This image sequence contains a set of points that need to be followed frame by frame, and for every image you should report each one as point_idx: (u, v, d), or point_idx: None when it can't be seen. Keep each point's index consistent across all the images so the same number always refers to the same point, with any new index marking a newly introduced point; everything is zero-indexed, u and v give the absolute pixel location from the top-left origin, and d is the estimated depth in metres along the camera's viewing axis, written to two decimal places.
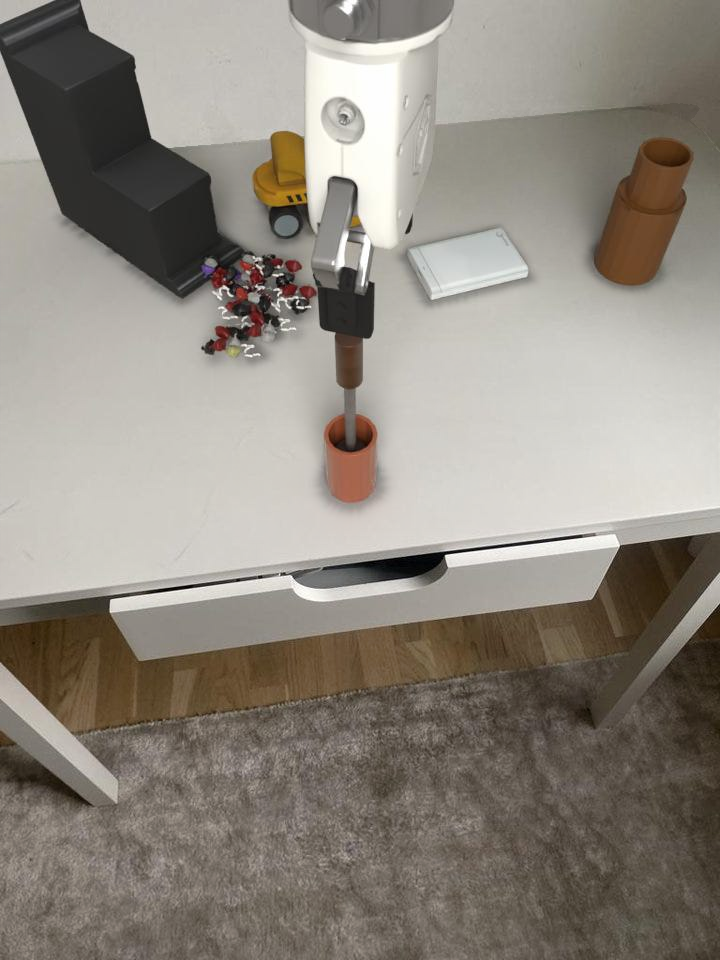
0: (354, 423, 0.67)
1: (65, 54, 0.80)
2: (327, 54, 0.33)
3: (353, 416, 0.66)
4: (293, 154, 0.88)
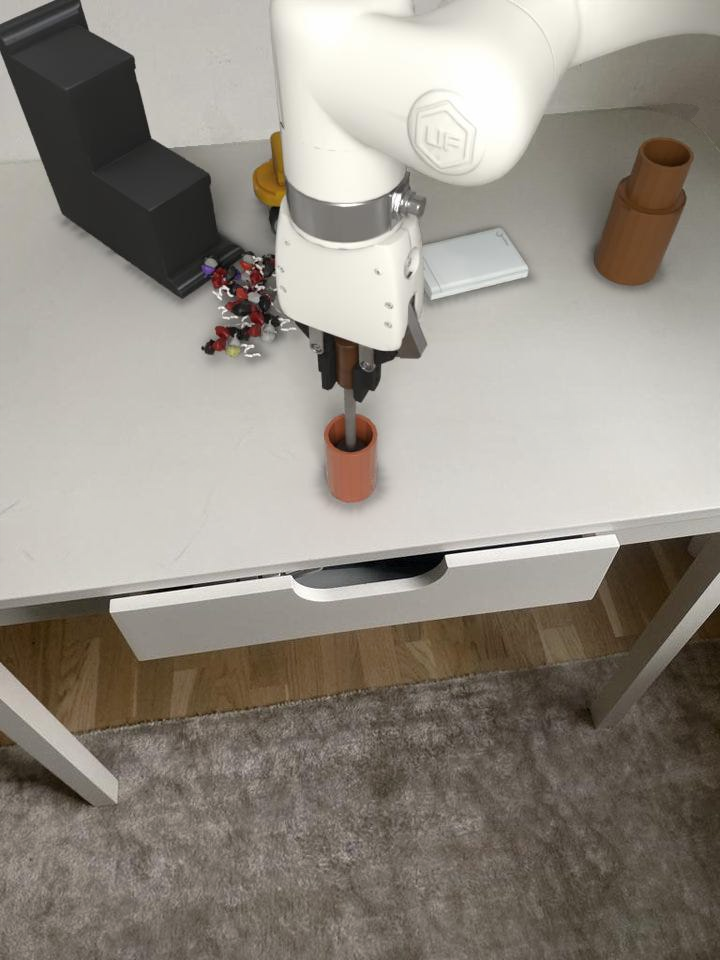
0: (354, 423, 0.67)
1: (65, 54, 0.80)
2: (397, 236, 0.48)
3: (353, 416, 0.66)
4: None
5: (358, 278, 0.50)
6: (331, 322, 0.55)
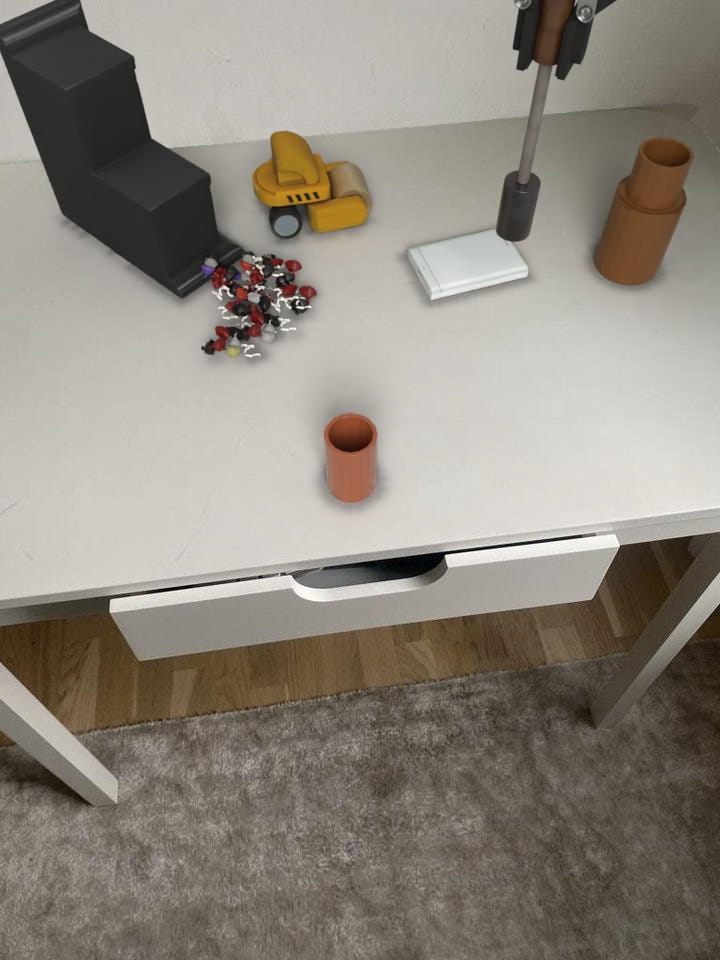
0: (538, 132, 0.59)
1: (65, 54, 0.80)
2: None
3: (539, 120, 0.58)
4: (293, 154, 0.88)
5: None
6: None
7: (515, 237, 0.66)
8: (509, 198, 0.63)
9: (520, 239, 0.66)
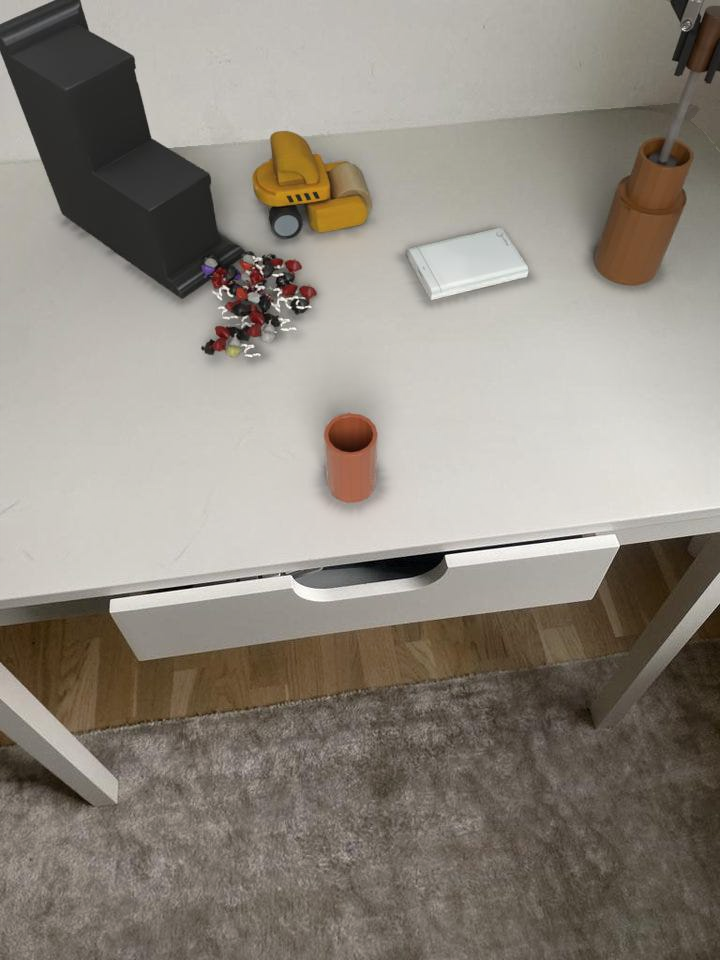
0: (681, 122, 0.78)
1: (65, 54, 0.80)
2: None
3: (684, 113, 0.77)
4: (293, 154, 0.88)
5: None
6: None
7: None
8: None
9: None
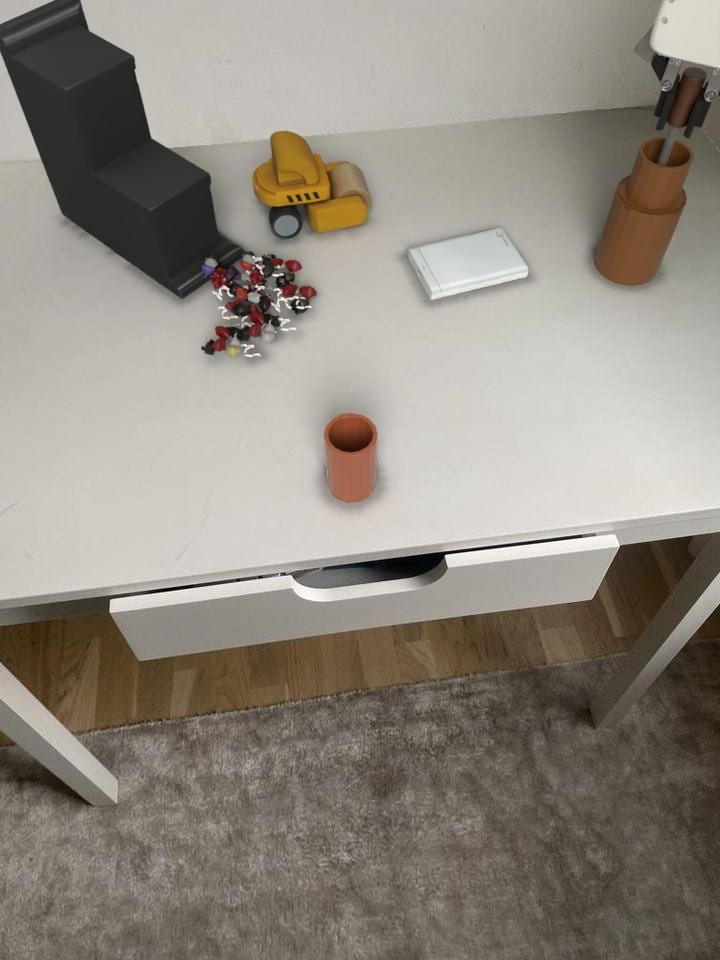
0: None
1: (65, 54, 0.80)
2: None
3: (666, 162, 0.81)
4: (293, 154, 0.88)
5: None
6: (701, 47, 0.70)
7: None
8: None
9: None
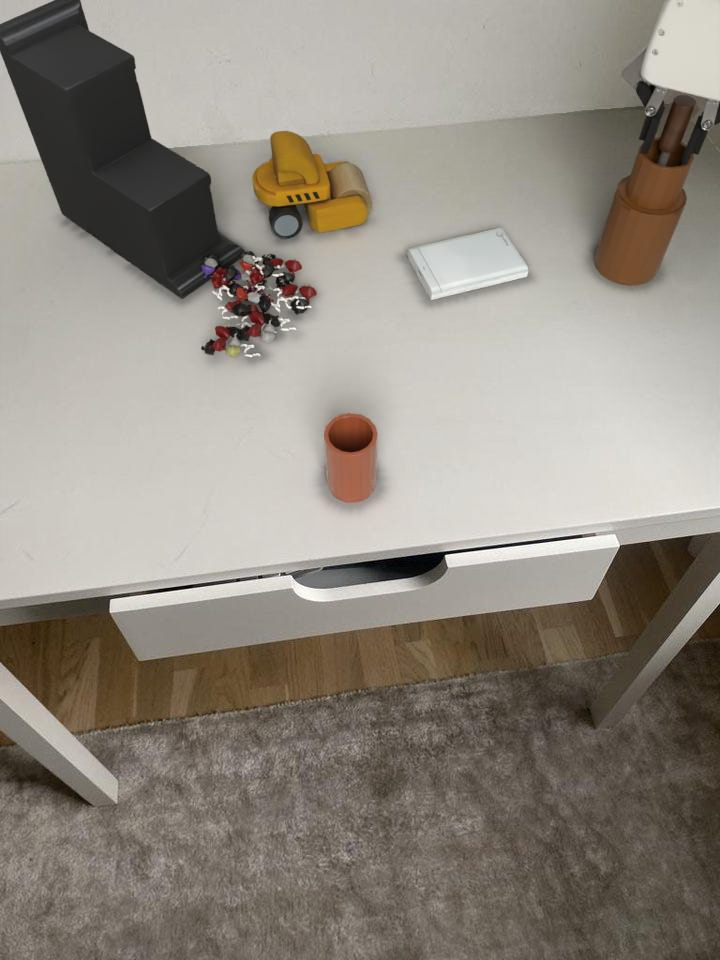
0: None
1: (65, 54, 0.80)
2: None
3: None
4: (293, 154, 0.88)
5: None
6: (690, 78, 0.72)
7: None
8: None
9: None
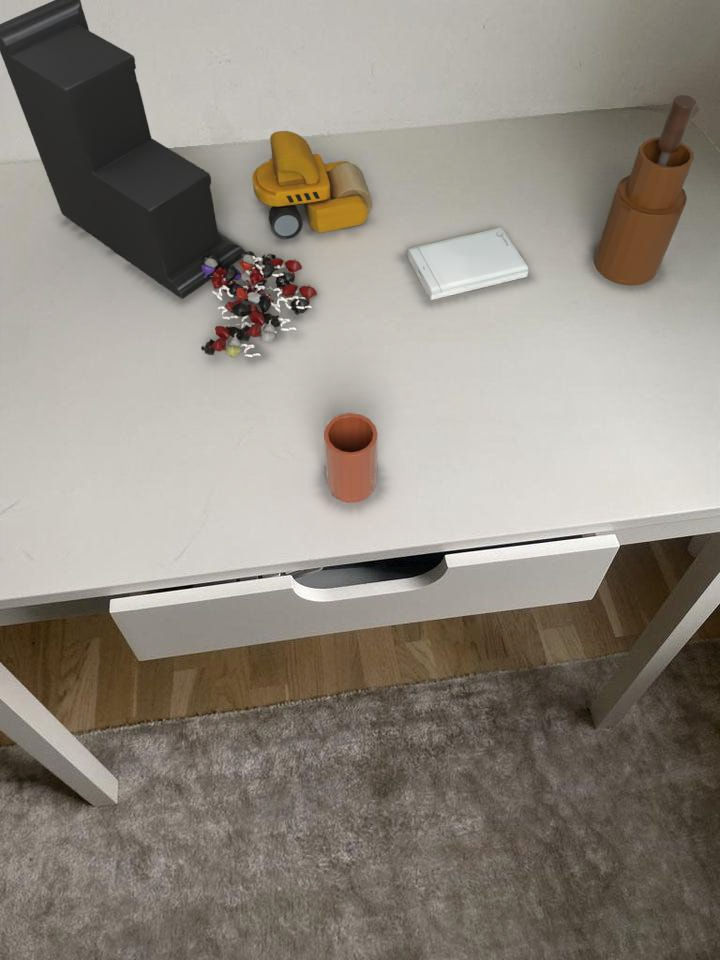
0: None
1: (65, 54, 0.80)
2: None
3: None
4: (293, 155, 0.88)
5: None
6: None
7: None
8: None
9: None
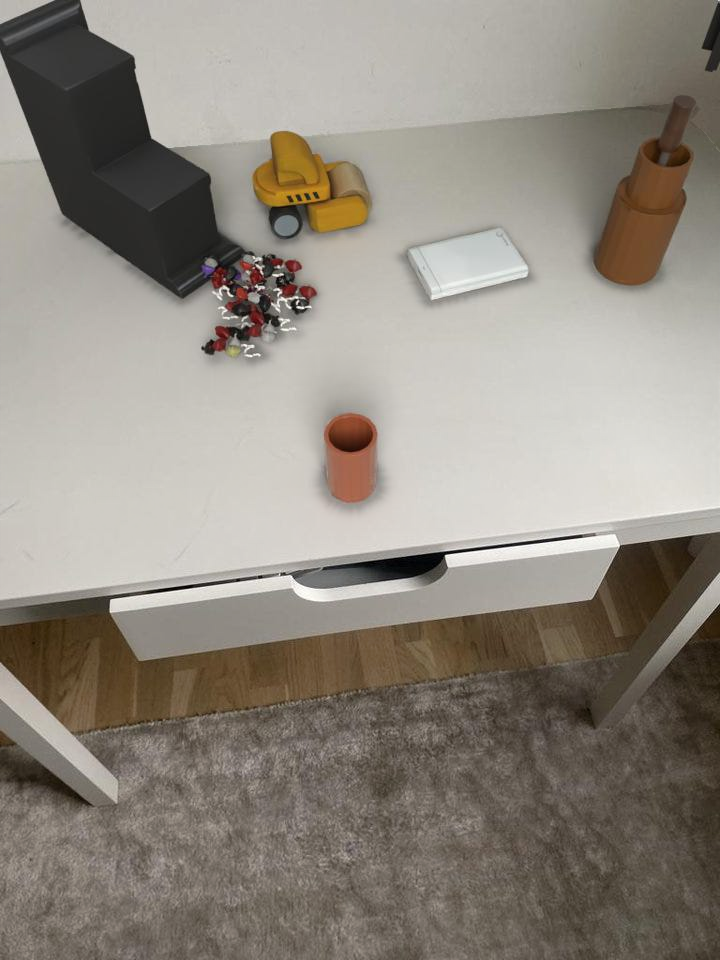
0: None
1: (65, 54, 0.80)
2: None
3: None
4: (293, 154, 0.88)
5: None
6: None
7: None
8: None
9: None
